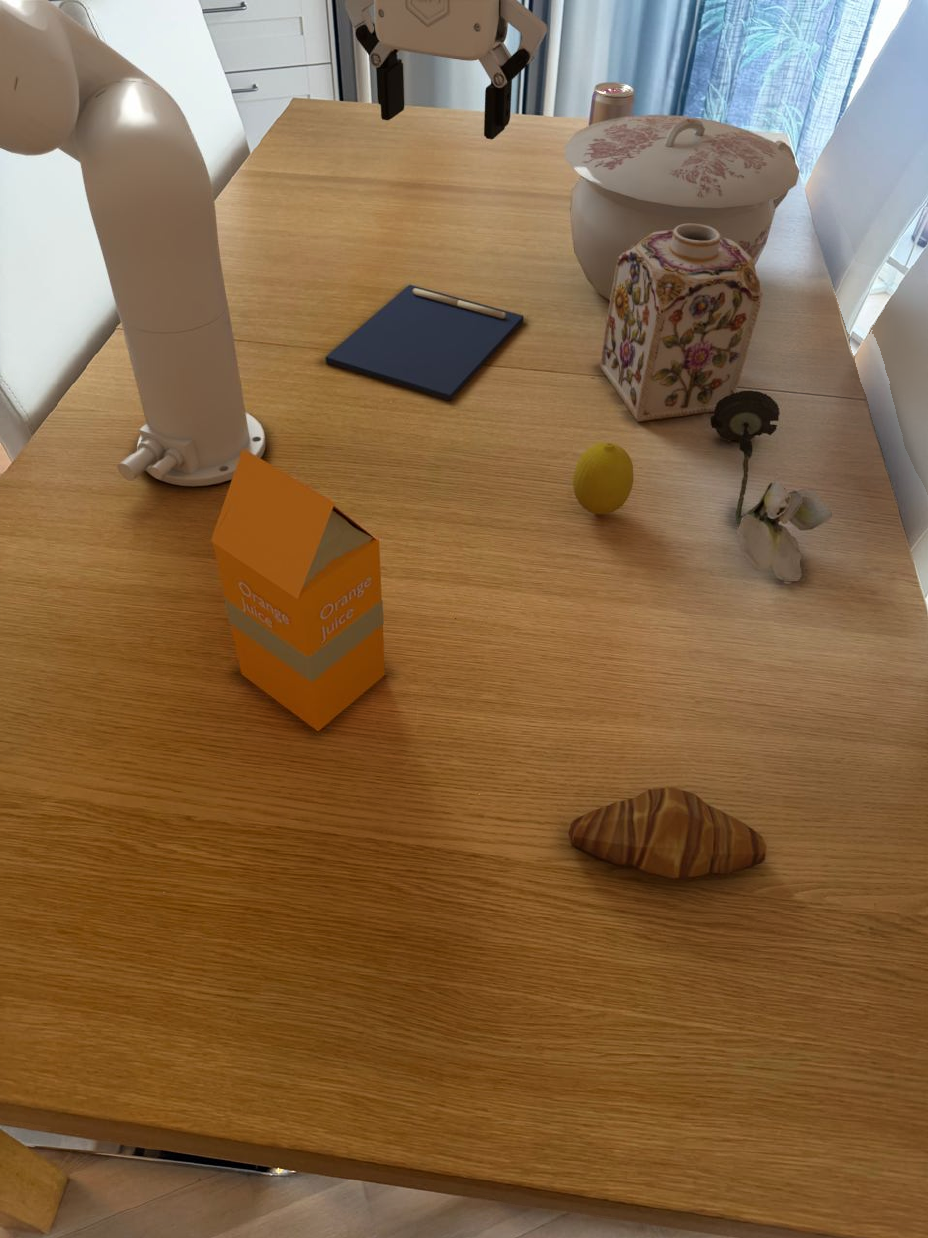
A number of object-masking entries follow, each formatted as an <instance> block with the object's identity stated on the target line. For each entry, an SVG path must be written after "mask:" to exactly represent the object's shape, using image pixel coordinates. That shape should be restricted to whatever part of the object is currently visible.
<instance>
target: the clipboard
mask: <svg viewBox="0 0 928 1238" xmlns="http://www.w3.org/2000/svg"><path fill="white" fill-rule="evenodd" d="M524 317H525V316H524V315H523V314H519V313H515V312H511V311H508V310H505V309H501V308H497V307H493V306H490V305H486V304H482V303H479V302H476V301H475V302H474V301H471V300H467V299H465V298H464V299H463V298H461V297H456V296H453V295H449V294H445V293H442V292H438V291H435V290H431V289H427V288H423V287H420V286H416V285H412V284H408V285H407V286H406V287H404V288H403V290H401V291H400V292H399V293H398V294H396V295H395V296H394V297H393V298H392V299H391V300H390V301H388V302H387V303H386V304H385V305H384V306H383V307H382V308H380V310H378V311H377V312H376V313H375V314H374V315H372V316H371V317H370V318H368V320H366V322H364V323H363V324H362V325H361V326H360V327H358V328H357V329H356V330H355V331H354V332H352V333H351V334H350V335H348V336H347V337H346V339H344V340H343V341H342V342H341V343H340V344H339V345H337V346H336V348H334V349H333V350H332V351H330V352H329V353H328V354H327V355H326V356H325V363H326V364H329V365H332V366H336V367H338V368H341V369H345V370H348V371H351V372H355V373H357V374H361V375H365V376H367V377H371V378H374V379H377V380H381V381H383V382H387V383H391V384H394V385H397V386H399V387H403V388H407V389H410V390H413V391H416V392H419V393H423V394H425V395H429V396H432V397H435V398H438V399H442V400H445V401H449V402H451V401H452V400H453V399H454V398H455V396H457V394H458V393H459V392H460V391H461V390H462V389H463V388H464V387H465V386H466V385H467V383H469V381H470V380H471V379H472V378H473V377H474V376H475V374H476V373H477V372H479V370H480V369H481V368H482V367H483V366H484V365H485V364H486V363H487V361H488V360H489V359H490V358H491V357H493V355H494V354H495V353H496V352H497V351H498V350H499V349H500V348H501V346H502V345H504V344H505V342H506V341H507V340H508V339H509V338H510V336H512V334H513V333H514V332H515V331H516V330H517V329H518V328H519V327H520V326H521V325H522V324H523V322H524V320H525V319H524Z"/></svg>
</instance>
